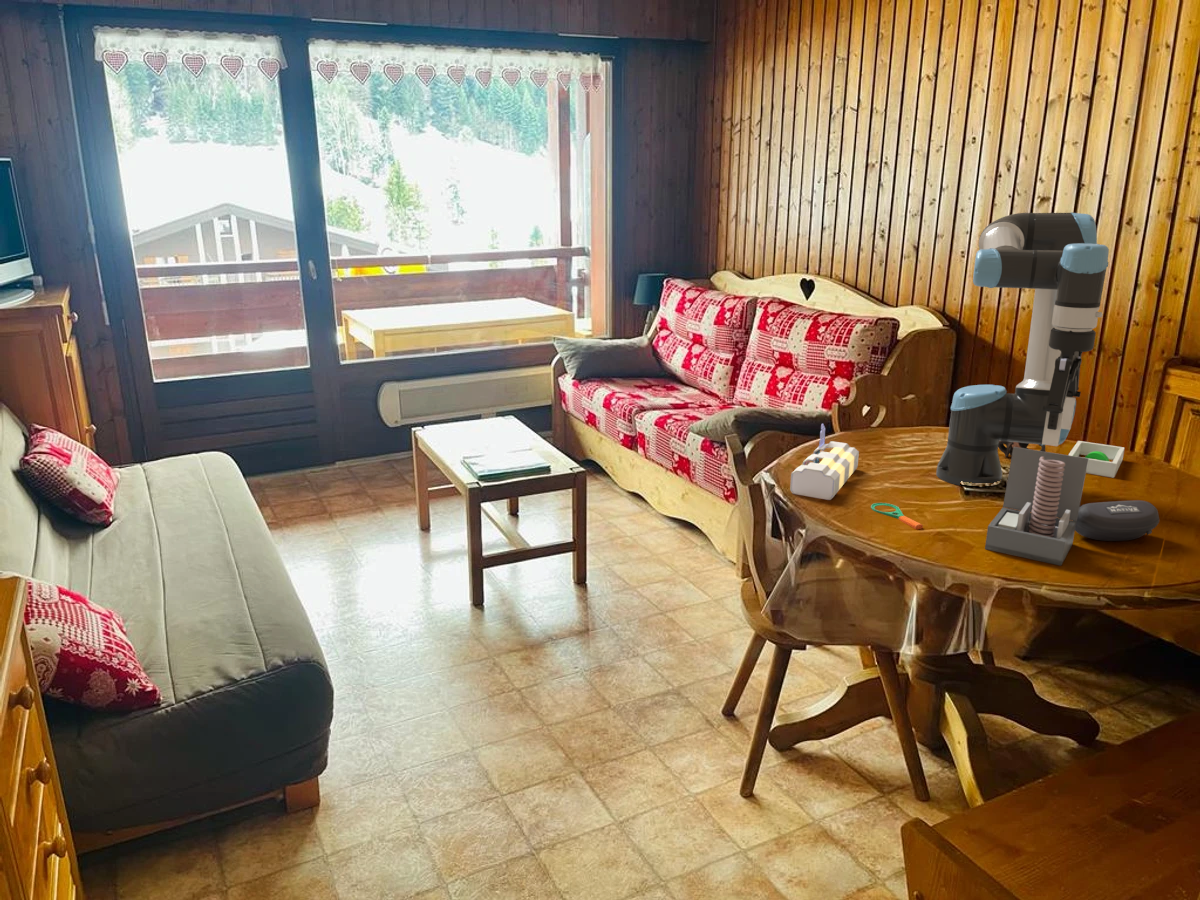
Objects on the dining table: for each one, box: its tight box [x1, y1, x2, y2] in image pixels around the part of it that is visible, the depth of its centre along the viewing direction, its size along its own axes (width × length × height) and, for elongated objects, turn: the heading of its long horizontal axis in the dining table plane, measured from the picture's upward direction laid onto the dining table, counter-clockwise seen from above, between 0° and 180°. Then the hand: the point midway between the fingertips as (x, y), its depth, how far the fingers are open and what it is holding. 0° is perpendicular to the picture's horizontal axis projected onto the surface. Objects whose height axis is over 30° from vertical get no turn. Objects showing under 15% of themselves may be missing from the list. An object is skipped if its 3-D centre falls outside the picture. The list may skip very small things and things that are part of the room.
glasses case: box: [1075, 499, 1160, 542], centre depth 181 cm, size 18×10×8 cm, turn 98°
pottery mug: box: [998, 441, 1047, 458], centre depth 230 cm, size 12×9×8 cm
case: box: [984, 447, 1089, 566], centre depth 176 cm, size 14×16×18 cm
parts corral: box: [1068, 440, 1125, 479], centre depth 226 cm, size 11×17×4 cm, turn 144°
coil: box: [1029, 456, 1065, 538], centre depth 174 cm, size 5×5×18 cm
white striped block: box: [789, 423, 860, 501], centre depth 213 cm, size 25×10×13 cm, turn 152°
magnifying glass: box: [870, 502, 924, 530], centre depth 193 cm, size 15×6×2 cm, turn 19°
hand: (1056, 436), depth 169 cm, fingers open, 13 cm apart
